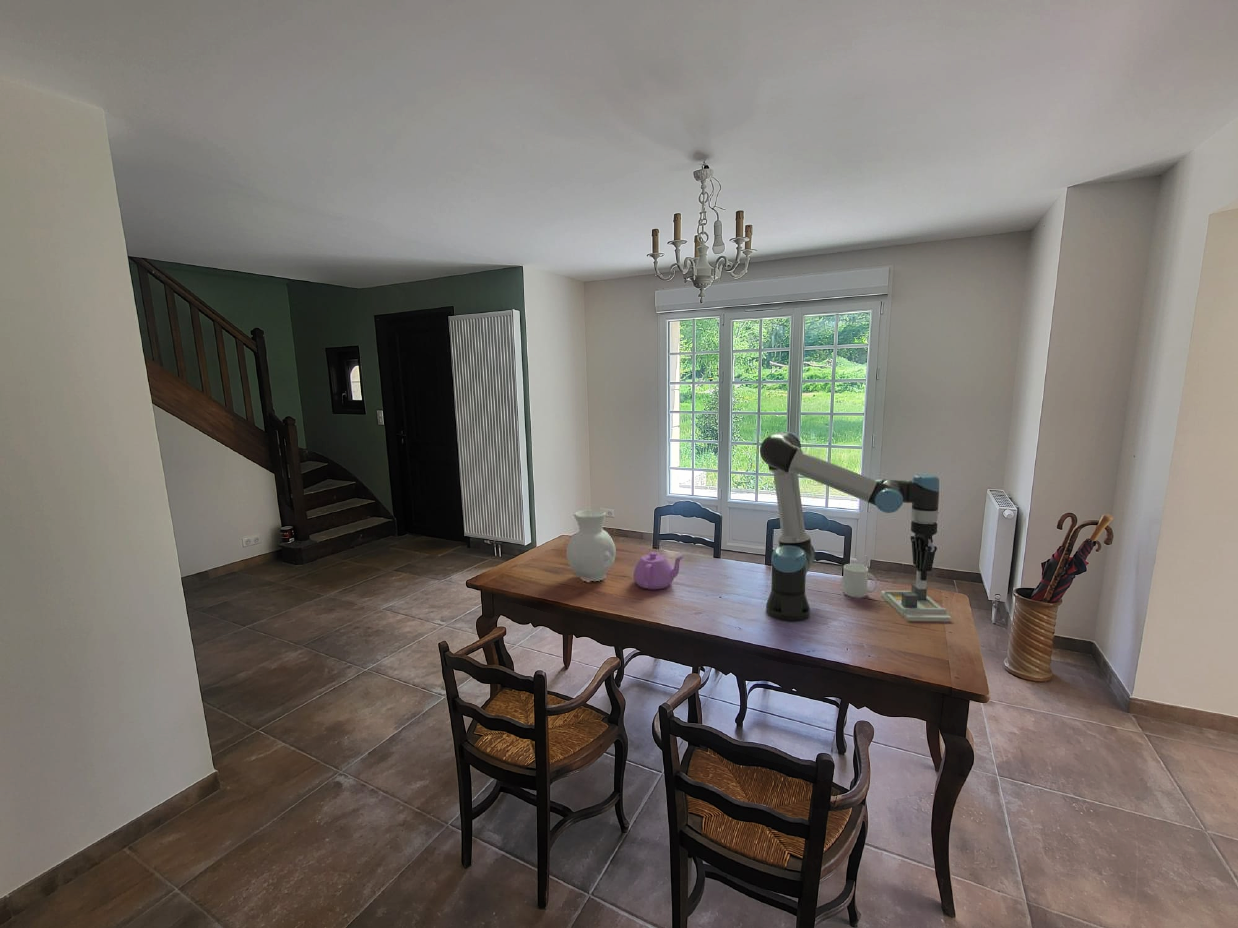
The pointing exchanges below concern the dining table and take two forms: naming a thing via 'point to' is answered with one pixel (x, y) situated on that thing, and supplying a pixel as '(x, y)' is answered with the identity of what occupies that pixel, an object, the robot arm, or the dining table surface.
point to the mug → (856, 580)
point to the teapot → (655, 571)
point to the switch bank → (923, 612)
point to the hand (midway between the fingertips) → (921, 588)
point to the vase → (591, 546)
